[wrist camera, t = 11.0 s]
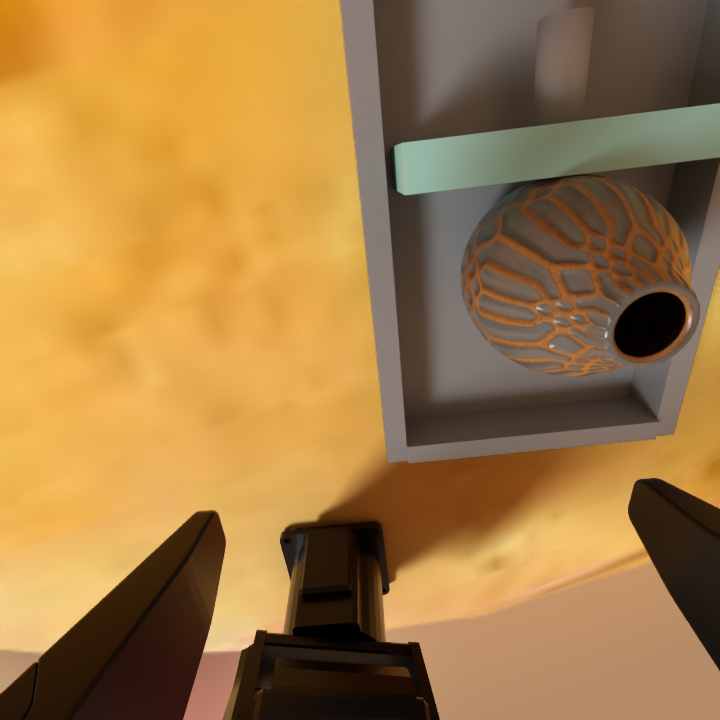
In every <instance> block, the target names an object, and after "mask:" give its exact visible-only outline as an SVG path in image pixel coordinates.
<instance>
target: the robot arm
mask: <svg viewBox="0 0 720 720" xmlns="http://www.w3.org/2000/svg"><path fill="white" fill-rule="evenodd" d="M628 514H629V518H630V520H631V522H632V524H633V526H634V528H635V530H636V532H637V534H638V536H639V537H640V539H641V541H642V543H643V545H644V547H645V549H646V551H647V553H648V555H649V556H650V558H651V560H652V562H653V564H654V566H655V568H656V570H657V572H658V573H659V575H660V577H661V579H662V581H663V583H664V584H665V586H666V588H667V590H668V591H669V593H670V595H671V596H672V598H673V599H674V601H675V603H676V604H677V606H678V607H679V609H680V610H681V612H682V613H683V615H684V617H685V618H686V620H687V621H688V623H689V624H690V626H691V627H692V629H693V630H694V632H695V634H696V635H697V637H698V638H699V640H700V641H701V643H702V644H703V646H704V647H705V649H706V650H707V652H708V654H709V655H710V657H711V658H712V660H713V661H714V663H715V664H716V666H717V667H718V669H719V671H720V509H719V508H717V507H715V506H713V505H711V504H709V503H707V502H705V501H703V500H701V499H699V498H697V497H695V496H693V495H691V494H689V493H687V492H685V491H683V490H681V489H679V488H677V487H675V486H673V485H671V484H669V483H667V482H665V481H663V480H661V479H658V478H650V479H639V480H637V481H636V482H635V484H634V487H633V491H632V495H631V498H630V502H629V506H628ZM373 530H375V531H373ZM287 538H289V539H287ZM280 544H281V547H282V551H283V555H284V558H285V562H286V565H287V569H288V573H289V576H290V580H291V584H290V591H289V598H288V604H287V611H286V618H285V625H284V632H283V634H278V633H267V631H265V630H257V631H256V635H255V640H254V644H252V646H251V645H250V646H249V647H248V648H246V649H244V650H242V652H241V656H240V660H239V665H238V669H237V674H236V678H235V682H234V686H233V689H232V693H231V695H230V699H229V701H228V705H227V707H226V710H225V713H224V716H223V720H440V719H439V715H438V712H437V708H436V704H435V700H434V696H433V693H432V689H431V685H430V682H429V678H428V674H427V671H426V667H425V663H424V660H423V656H422V652H421V649H420V645H419V643H418V642H408V644H407V643H393V642H386V638H385V624H384V610H383V595H385V594H387V593H388V592H389V590H390V588H389V579H388V571H387V562H386V554H385V546H384V538H383V529H382V525H381V524H380V523H378V522H369V523H358V524H348V525H337V526H327V527H316V528H306V529H295V530H286V531H284V532H282V533H281V537H280ZM225 547H226V540H225V535H224V531H223V528H222V525H221V521H220V518H219V515H218V513H217V512H216V511H214V510H208V511H198V512H196V513H195V514H193V515H192V516H191V517H190V518H189V519H188V520H187V521H186V522H185V523H184V524H183V525H182V526H181V527H179V528H178V529H177V530H176V531H175V532H174V533H173V534H172V535H171V536H170V537H169V538H168V539H167V540H165V541H164V542H163V543H162V544H161V545H160V546H159V547H158V548H157V549H156V550H155V551H154V552H153V553H151V554H150V555H149V556H148V557H147V558H146V559H145V560H144V561H143V562H142V563H141V564H140V565H139V566H138V567H136V568H135V569H134V570H133V571H132V572H131V573H130V574H129V575H128V576H127V577H126V578H125V579H124V580H122V581H121V582H120V583H119V584H118V585H117V586H116V587H115V588H114V589H113V590H112V591H111V592H110V593H109V594H107V595H106V596H105V597H104V598H103V599H102V600H101V601H100V602H99V603H98V604H97V605H96V606H95V607H93V608H92V609H91V610H90V611H89V612H88V613H87V614H86V615H85V616H84V617H83V618H82V619H81V620H79V621H78V622H77V623H76V624H75V625H74V626H73V627H72V628H71V629H70V630H69V631H68V632H67V633H66V634H64V635H63V636H62V637H61V638H60V639H59V640H58V641H57V642H56V643H55V644H54V645H53V646H52V647H50V648H49V649H48V650H47V651H46V652H45V653H44V654H43V655H42V656H41V657H40V658H39V660H38V662H35V663H33V664H32V665H31V666H30V667H29V668H28V669H27V670H26V671H25V672H23V673H22V674H21V675H20V676H19V677H18V678H17V679H16V680H15V681H14V682H13V683H12V684H10V686H8V687H7V688H6V689H5V690H4V691H3V692H2V693H1V694H0V720H183V718H184V714H185V711H186V708H187V704H188V701H189V697H190V694H191V690H192V687H193V684H194V680H195V677H196V674H197V670H198V667H199V663H200V660H201V657H202V653H203V650H204V646H205V643H206V640H207V636H208V633H209V629H210V625H211V621H212V616H213V612H214V607H215V601H216V596H217V591H218V585H219V580H220V574H221V569H222V564H223V558H224V553H225Z"/></svg>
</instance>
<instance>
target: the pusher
mask: <svg viewBox="0 0 720 720" xmlns="http://www.w3.org/2000/svg"><path fill="white" fill-rule="evenodd" d="M594 13H595V8H593V7H580V8H573V9H568V10H564V11H560V12H557V13H554V14H551V15H549V16H546V17H544V18H542V19H541V20H540V21H539V22H538V33H537V49H536V65H535V81H534V98H533V114H532V127H525V128H517V129H509V130H501V131H493V132H485V133H477V134H469V135H461V136H453V137H445V138H437V139H429V140H421V141H413V142H405V143H400V144H398V145H396V146H394V147H391V162H392V176H393V189H395V190H396V191H398V192H400V193H402V194H403V195H412V194H420V193H428V192H436V191H445V190H453V189H461V188H470V187H478V186H486V185H494V184H503V183H511V182H519V181H528V180H536V179H544V178H552V177H561V176H569V175H577V174H585V173H594V172H602V171H610V170H619V169H627V168H635V167H643V166H652V165H660V164H668V163H677V162H685V161H693V160H701V159H710V158H718V157H720V103H717V104H709V105H701V106H693V107H685V108H677V109H669V110H661V111H653V112H645V113H637V114H629V115H621V116H613V117H605V118H597V119H589V120H583V115H584V106H585V96H586V87H587V78H588V69H589V59H590V50H591V41H592V32H593V23H594Z"/></svg>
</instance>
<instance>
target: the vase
mask: <svg viewBox="0 0 720 720" xmlns="http://www.w3.org/2000/svg"><path fill="white" fill-rule="evenodd" d="M461 291H462V297H463V301H464V304H465V307H466V309H467V312H468V314H469V316H470V318H471V320H472V322H473V324H474V325H475V327H476V328H477V330H478V331H479V333H480V334H481V335H482V336H483V338H484V339H485V340H486V341H487V342H488V343H489V344H490V345H491V346H492V347H493V348H494V349H495V350H497V351H498V352H499V353H501V354H502V355H503V356H505V357H506V358H508V359H510V360H511V361H513V362H515V363H517V364H519V365H521V366H524V367H526V368H529V369H531V370H534V371H538V372H541V373H545V374H549V375H556V376H565V377H579V376H590V375H596V374H600V373H604V372H608V371H612V370H615V369H618V368H621V367H625V368H646V367H651V366H654V365H657V364H660V363H662V362H664V361H666V360H668V359H670V358H671V357H673V356H674V355H676V354H677V353H678V352H679V351H680V350H682V349H683V348H684V347H685V345H686V344H687V343H688V342H689V341H690V339H691V338H692V336H693V335H694V333H695V331H696V329H697V326H698V323H699V319H700V304H699V300H698V298H697V296H696V294H695V292H694V290H693V289H692V287H691V259H690V253H689V249H688V246H687V242H686V239H685V237H684V234H683V232H682V230H681V229H680V227H679V225H678V224H677V222H676V221H675V219H674V218H673V217H672V215H671V214H670V213H669V212H668V211H667V210H666V209H665V208H664V207H663V206H662V205H661V204H660V203H659V202H658V201H656V200H655V199H654V198H652V197H651V196H650V195H648V194H647V193H645V192H644V191H642V190H640V189H638V188H637V187H635V186H633V185H631V184H628V183H626V182H623V181H620V180H617V179H615V178H611V177H607V176H600V175H592V174H577V175H569V176H561V177H552V178H544V179H540V180H537V181H534V182H531V183H529V184H527V185H525V186H522V187H520V188H518V189H517V190H515V191H513V192H511V193H510V194H508V195H507V196H505V197H504V198H502V199H501V200H500V201H499V202H497V203H496V204H495V205H494V206H493V207H492V208H491V209H490V210H489V211H488V212H487V213H486V214H485V215H484V217H483V218H482V219H481V220H480V222H479V223H478V225H477V226H476V228H475V229H474V231H473V233H472V234H471V236H470V239H469V241H468V243H467V246H466V248H465V252H464V255H463V259H462V265H461Z"/></svg>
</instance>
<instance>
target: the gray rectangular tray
mask: <svg viewBox="0 0 720 720" xmlns="http://www.w3.org/2000/svg"><path fill="white" fill-rule="evenodd" d="M339 2H340V12H341V21H342V31H343V41H344V50H345V60H346V69H347V79H348V89H349V98H350V108H351V117H352V127H353V137H354V146H355V156H356V166H357V175H358V185H359V194H360V204H361V214H362V223H363V233H364V243H365V252H366V262H367V271H368V281H369V291H370V300H371V310H372V319H373V329H374V339H375V348H376V358H377V368H378V377H379V387H380V396H381V406H382V416H383V425H384V434H385V443H386V451H387V459H388V463H391V462H401V461H408V463H418V462H428V461H439V460H449V459H459V458H469V457H479V456H489V455H499V454H509V453H519V452H529V451H539V450H549V449H559V448H569V447H579V446H590V445H600V444H610V443H620V442H630V441H640V440H650V439H656V436H662V435H673V434H674V431H675V428H676V424H677V420H678V417H679V413H680V409H681V405H682V402H683V398H684V394H685V391H686V387H687V383H688V379H689V376H690V372H691V368H692V365H693V361H694V357H695V354H696V350H697V346H698V342H699V339H700V335H701V331H702V328H703V324H704V320H705V317H706V313H707V309H708V305H709V302H710V298H711V294H712V291H713V287H714V283H715V279H716V276H717V272H718V268H719V265H720V157H718V158H710V159H701V160H693V161H685V162H677V163H668V164H660V165H652V166H643V167H635V168H627V169H619V170H610V171H602V172H594V173H585V174H592V175H600V176H607V177H611V178H615V179H617V180H620V181H623V182H626V183H628V184H631V185H633V186H635V187H637V188H638V189H640V190H642V191H644V192H645V193H647V194H648V195H650V196H651V197H652V198H654V199H655V200H656V201H658V202H659V203H660V204H661V205H662V206H663V207H664V208H665V209H666V210H667V211H668V212H669V213H670V214H671V215H672V217H673V218H674V219H675V221H676V222H677V224H678V225H679V227H680V229H681V230H682V232H683V234H684V237H685V239H686V242H687V246H688V249H689V253H690V259H691V287H692V289H693V290H694V292H695V294H696V296H697V298H698V300H699V304H700V319H699V323H698V326H697V329H696V331H695V333H694V335H693V336H692V338H691V339H690V341H689V342H688V343H687V344H686V345H685V347H684V348H683V349H682V350H680V351H679V352H678V353H677V354H676V355H674V356H673V357H671V358H670V359H668V360H666V361H664V362H662V363H660V364H657V365H654V366H651V367H646V368H625V367H621V368H618V369H615V370H612V371H608V372H604V373H600V374H596V375H590V376H579V377H565V376H556V375H549V374H545V373H541V372H538V371H534V370H531V369H529V368H526V367H524V366H521V365H519V364H517V363H515V362H513V361H511V360H510V359H508V358H506V357H505V356H503V355H502V354H501V353H499V352H498V351H497V350H495V349H494V348H493V347H492V346H491V345H490V344H489V343H488V342H487V341H486V340H485V339H484V338H483V336H482V335H481V334H480V333H479V331H478V330H477V328H476V327H475V325H474V324H473V322H472V320H471V318H470V316H469V314H468V312H467V309H466V307H465V304H464V301H463V297H462V291H461V265H462V259H463V255H464V252H465V248H466V246H467V243H468V241H469V239H470V236H471V234H472V233H473V231H474V229H475V228H476V226H477V225H478V223H479V222H480V220H481V219H482V218H483V217H484V215H485V214H486V213H487V212H488V211H489V210H490V209H491V208H492V207H493V206H494V205H495V204H496V203H497V202H499V201H500V200H501V199H502V198H504V197H505V196H507V195H508V194H510V193H511V192H513V191H515V190H517V189H518V188H520V187H522V186H525V185H527V184H529V183H531V182H534V181H537V180H540V179H536V180H528V181H519V182H511V183H503V184H494V185H486V186H478V187H470V188H461V189H453V190H445V191H436V192H428V193H420V194H412V195H403V194H402V193H400V192H398V191H396V190H395V189H393V176H392V162H391V147H394V146H396V145H398V144H400V143H405V142H413V141H421V140H429V139H437V138H445V137H453V136H461V135H469V134H477V133H485V132H493V131H501V130H509V129H517V128H525V127H532V114H533V98H534V81H535V65H536V49H537V33H538V22H539V21H540V20H541V19H542V18H544V17H546V16H549V15H551V14H554V13H557V12H560V11H564V10H568V9H573V8H580V7H593V8H595V13H594V23H593V32H592V41H591V50H590V59H589V69H588V78H587V87H586V96H585V106H584V115H583V120H589V119H597V118H605V117H613V116H621V115H629V114H637V113H645V112H653V111H661V110H669V109H677V108H685V107H693V106H701V105H709V104H717V103H720V0H339Z"/></svg>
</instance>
